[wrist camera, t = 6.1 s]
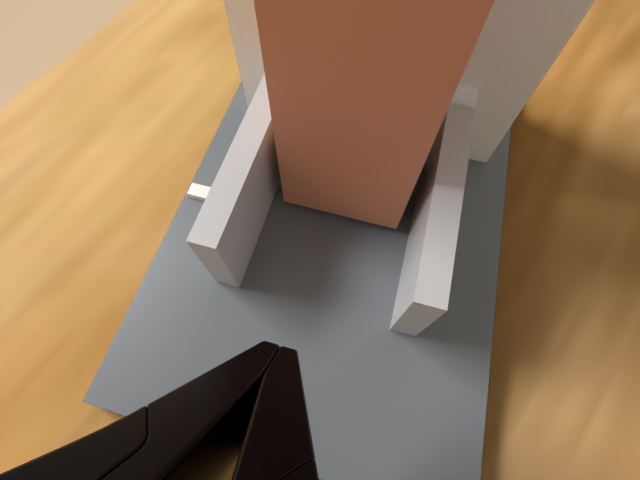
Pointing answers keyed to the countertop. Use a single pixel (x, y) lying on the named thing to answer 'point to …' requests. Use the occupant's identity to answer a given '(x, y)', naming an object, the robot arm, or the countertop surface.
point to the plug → (361, 95)
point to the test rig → (348, 271)
